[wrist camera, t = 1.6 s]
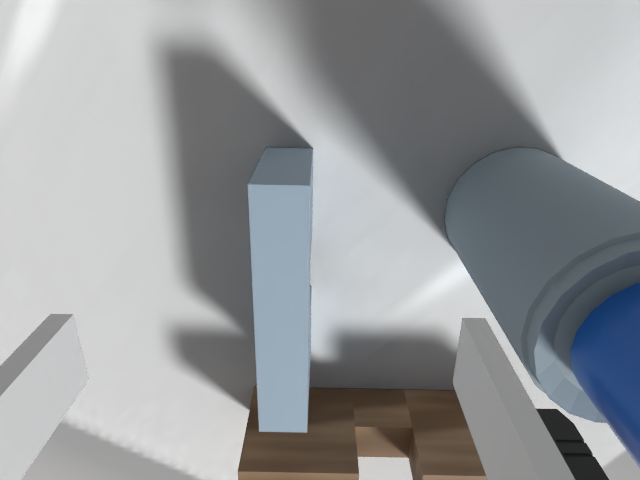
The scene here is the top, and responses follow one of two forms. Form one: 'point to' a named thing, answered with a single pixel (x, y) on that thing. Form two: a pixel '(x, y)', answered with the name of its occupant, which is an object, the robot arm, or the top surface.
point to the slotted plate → (282, 285)
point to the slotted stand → (365, 437)
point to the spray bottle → (558, 278)
